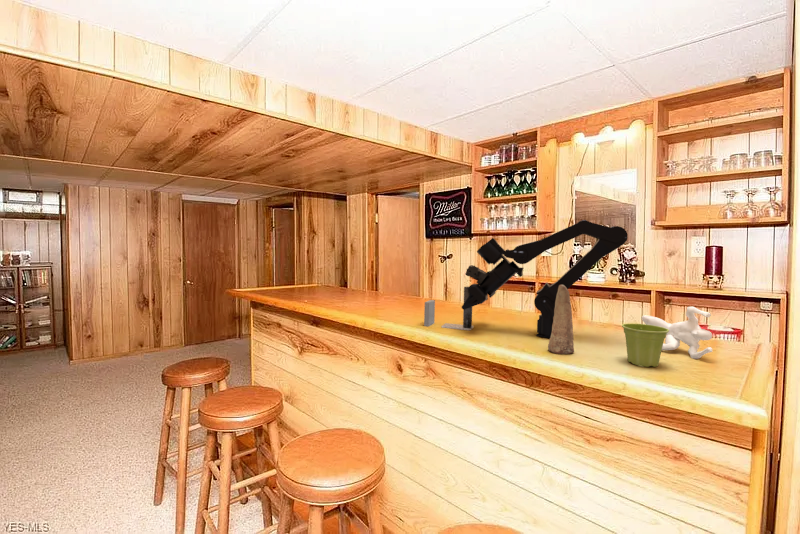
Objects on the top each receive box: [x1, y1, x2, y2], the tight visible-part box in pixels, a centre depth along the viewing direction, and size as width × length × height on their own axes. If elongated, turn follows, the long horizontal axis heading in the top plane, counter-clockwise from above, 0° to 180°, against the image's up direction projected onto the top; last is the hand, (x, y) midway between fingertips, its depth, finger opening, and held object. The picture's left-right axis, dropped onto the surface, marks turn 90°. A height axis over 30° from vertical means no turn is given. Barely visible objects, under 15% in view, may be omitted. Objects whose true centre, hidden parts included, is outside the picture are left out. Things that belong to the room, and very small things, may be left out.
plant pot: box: [621, 323, 669, 368], centre depth 93 cm, size 9×9×9 cm
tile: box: [423, 299, 436, 328], centre depth 134 cm, size 2×6×8 cm, turn 157°
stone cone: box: [547, 285, 575, 355], centre depth 101 cm, size 6×18×6 cm
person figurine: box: [640, 305, 714, 360], centre depth 105 cm, size 13×13×18 cm
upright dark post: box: [441, 286, 475, 331], centre depth 130 cm, size 10×5×14 cm, turn 67°
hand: (463, 307), depth 129 cm, fingers closed on upright dark post, 3 cm apart
